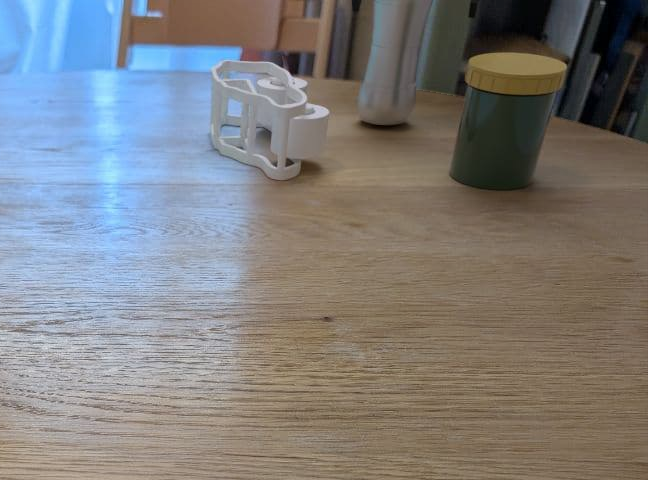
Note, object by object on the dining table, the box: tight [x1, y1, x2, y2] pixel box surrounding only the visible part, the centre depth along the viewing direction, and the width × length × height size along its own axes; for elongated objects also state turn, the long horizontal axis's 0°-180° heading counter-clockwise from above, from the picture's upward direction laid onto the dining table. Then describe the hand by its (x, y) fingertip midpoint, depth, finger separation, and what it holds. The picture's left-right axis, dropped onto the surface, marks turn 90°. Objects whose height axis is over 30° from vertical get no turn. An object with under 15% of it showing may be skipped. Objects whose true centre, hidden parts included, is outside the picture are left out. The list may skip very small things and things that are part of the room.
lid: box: [464, 52, 568, 95], centre depth 81 cm, size 9×9×2 cm
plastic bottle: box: [356, 0, 433, 126], centre depth 96 cm, size 6×7×20 cm
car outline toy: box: [209, 59, 330, 181], centre depth 93 cm, size 20×11×7 cm, turn 1°
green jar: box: [448, 83, 558, 191], centre depth 84 cm, size 8×8×10 cm
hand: (412, 7), depth 102 cm, fingers open, 13 cm apart
